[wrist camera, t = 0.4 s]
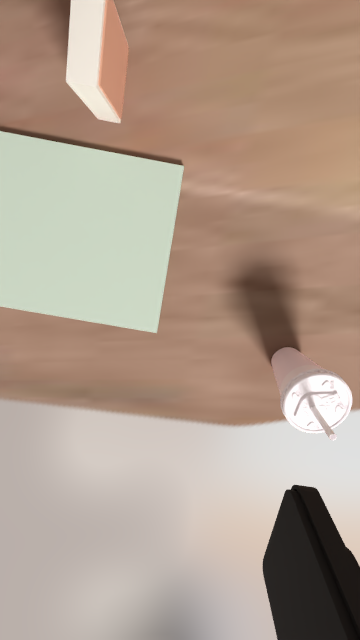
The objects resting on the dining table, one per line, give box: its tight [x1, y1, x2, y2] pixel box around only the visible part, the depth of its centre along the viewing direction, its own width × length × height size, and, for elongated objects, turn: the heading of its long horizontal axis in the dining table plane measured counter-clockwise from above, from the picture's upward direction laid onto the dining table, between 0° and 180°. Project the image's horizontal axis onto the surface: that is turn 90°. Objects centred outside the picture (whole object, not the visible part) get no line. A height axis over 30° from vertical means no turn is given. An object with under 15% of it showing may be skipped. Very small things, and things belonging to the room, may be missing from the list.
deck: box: [66, 0, 129, 123], centre depth 27 cm, size 6×2×9 cm, turn 170°
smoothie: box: [271, 347, 352, 440], centre depth 32 cm, size 6×6×14 cm
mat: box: [0, 131, 184, 333], centre depth 35 cm, size 18×20×1 cm
